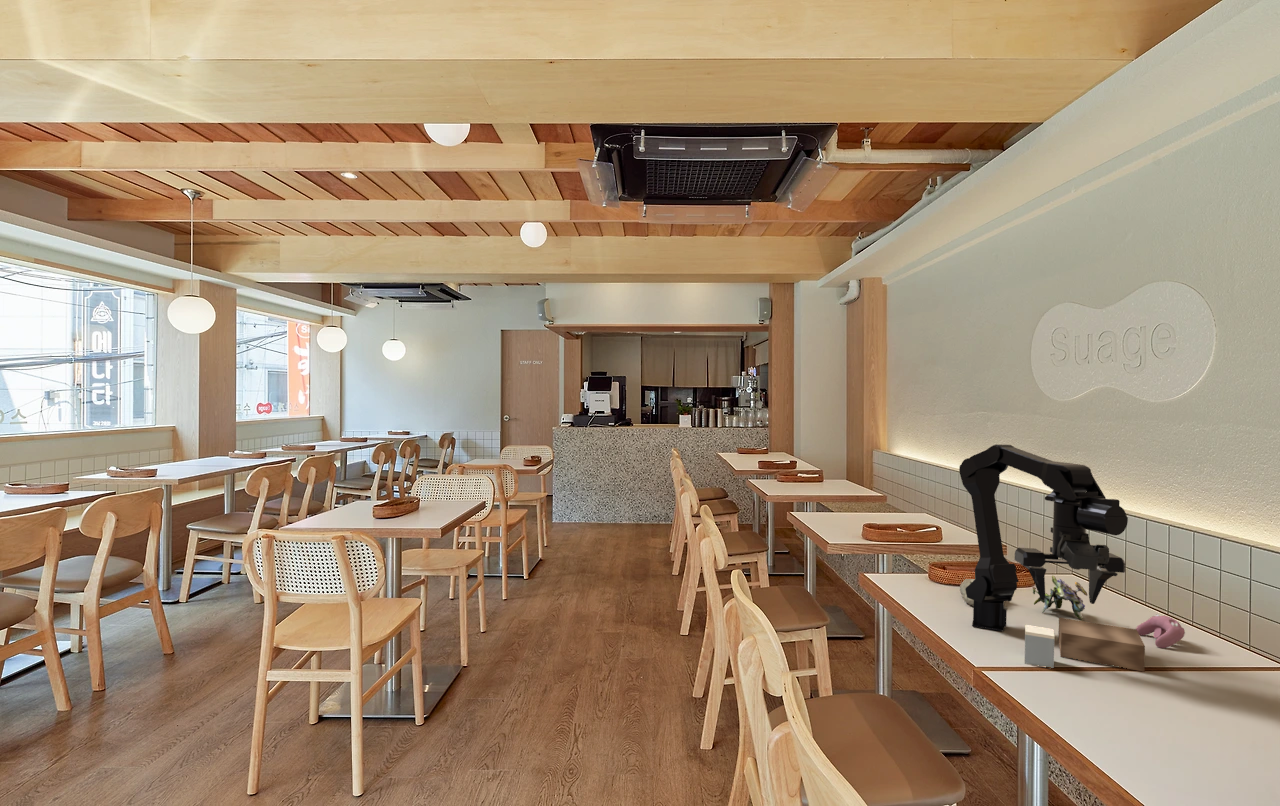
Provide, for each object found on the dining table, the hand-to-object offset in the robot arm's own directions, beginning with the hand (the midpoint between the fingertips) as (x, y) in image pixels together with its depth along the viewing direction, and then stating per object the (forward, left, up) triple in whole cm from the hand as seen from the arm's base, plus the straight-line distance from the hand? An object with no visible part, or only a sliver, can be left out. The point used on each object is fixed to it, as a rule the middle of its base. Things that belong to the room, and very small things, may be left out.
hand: (1067, 601), depth 139 cm
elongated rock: (-18, +46, -12) cm, 51 cm away
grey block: (-5, -5, -12) cm, 14 cm away
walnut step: (+6, +7, -12) cm, 15 cm away
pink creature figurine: (+19, +25, -12) cm, 33 cm away
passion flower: (0, +35, -12) cm, 37 cm away
